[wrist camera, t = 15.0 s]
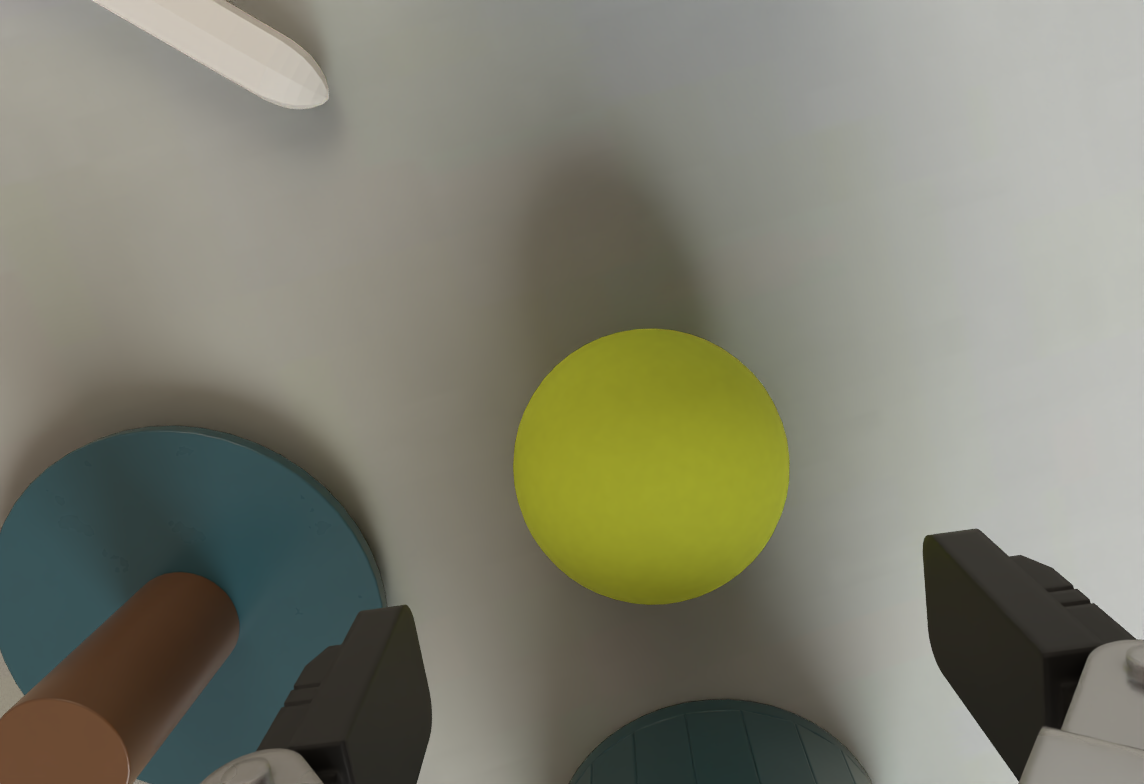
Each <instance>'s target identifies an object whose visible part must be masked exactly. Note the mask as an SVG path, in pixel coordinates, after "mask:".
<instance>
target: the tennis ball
mask: <svg viewBox="0 0 1144 784" xmlns="http://www.w3.org/2000/svg"><path fill="white" fill-rule="evenodd" d="M513 472H514V485H515V490H516V495H517V499H518V503H519V506H520V509H521V512H522V514H523V517H524V520H525V523H526V525H527V527H528V529H529V530H530V532H531V534H532V536H533V538H534V539H535V541H536V542H537V544H538V545H539V547H540V548H541V549H542V551H543V552H544V553H545V554H546V555H547V556H548V557H549V559H550V560H551V561H552V562H553V563H554V564H555V565H556V566H557V567H558V568H559V569H560V570H561V571H563V572H564V573H565V574H566V575H567V576H568V577H570V578H571V579H573V580H574V581H576V582H577V583H579V584H580V585H582V586H583V587H585V588H587V589H589V590H592V591H594V592H596V593H598V594H600V595H603V596H606V597H609V598H612V599H615V600H620V601H624V602H629V603H635V604H646V605H656V604H670V603H677V602H682V601H686V600H689V599H693V598H697V597H699V596H702V595H704V594H706V593H709V592H711V591H713V590H715V589H717V588H719V587H720V586H722V585H724V584H726V583H727V582H729V581H730V580H731V579H733V578H734V577H736V576H737V575H738V574H740V573H741V572H742V571H743V570H744V569H745V568H746V567H747V566H748V565H750V564H751V563H752V562H753V561H754V560H755V558H756V557H757V556H758V555H759V553H760V552H761V551H762V550H763V549H764V547H765V545H766V544H767V542H768V541H769V539H770V537H771V536H772V534H773V532H774V530H775V528H776V525H777V523H778V521H779V519H780V517H781V514H782V511H783V508H784V504H785V501H786V498H787V491H788V485H789V451H788V443H787V438H786V434H785V431H784V427H783V423H782V421H781V419H780V416H779V414H778V412H777V409H776V407H775V405H774V403H773V401H772V399H771V398H770V396H769V394H768V393H767V391H766V389H765V388H764V386H763V385H762V384H761V383H760V381H759V380H758V379H757V378H756V377H755V375H754V374H753V373H752V372H751V371H750V370H749V369H748V368H747V367H746V366H744V365H743V364H742V363H741V362H740V361H739V360H738V359H737V358H735V357H734V356H732V355H731V354H729V353H728V352H727V351H725V350H724V349H722V348H721V347H719V346H717V345H715V344H713V343H711V342H709V341H707V340H705V339H702V338H699V337H697V336H694V335H691V334H688V333H683V332H679V331H674V330H666V329H634V330H629V331H623V332H618V333H614V334H611V335H608V336H605V337H601V338H599V339H597V340H595V341H592V342H590V343H588V344H586V345H584V346H582V347H581V348H579V349H578V350H576V351H574V352H573V353H571V354H570V355H568V356H567V357H566V358H565V359H564V360H562V361H561V362H560V363H559V364H558V365H556V366H555V367H554V369H553V370H552V371H551V372H550V373H549V374H548V375H547V376H546V377H545V378H544V380H543V381H542V382H541V384H540V385H539V387H538V388H537V389H536V391H535V392H534V394H533V396H532V398H531V400H530V401H529V403H528V405H527V407H526V409H525V411H524V414H523V416H522V419H521V422H520V425H519V427H518V432H517V437H516V441H515V449H514V463H513Z"/></svg>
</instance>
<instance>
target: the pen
mask: <svg viewBox="0 0 1144 784" xmlns="http://www.w3.org/2000/svg"><path fill="white" fill-rule="evenodd" d="M92 1H93V2H95V3H97V4H99V5H100V6H102V7H104V8H106V9H107V10H109V11H111V12H112V13H114V14H116V15H118V16H119V17H121V18H123V19H125V20H126V21H128V22H130V23H132V24H133V25H135V26H137V27H138V28H140V29H142V30H144V31H145V32H147V33H149V34H151V35H152V36H154V37H156V38H158V39H159V40H161V41H163V42H164V43H166V44H168V45H170V46H171V47H173V48H175V49H177V50H178V51H180V52H182V53H184V54H185V55H187V56H189V57H190V58H192V59H194V60H196V61H197V62H199V63H201V64H203V65H204V66H206V67H208V68H210V69H211V70H213V71H215V72H217V73H218V74H220V75H222V76H223V77H225V78H227V79H229V80H230V81H232V82H234V83H236V84H237V85H239V86H241V87H243V88H245V89H246V90H248V91H250V92H252V93H253V94H255V95H257V96H259V97H260V98H262V99H264V100H266V101H269V102H271V103H273V104H276V105H279V106H282V107H285V108H291V109H308V108H313V107H316V106H319V105H322V104H324V103H325V102H326V101H327V100H328V99H329V88H328V85H327V81H326V78H325V76H324V74H323V72H322V70H321V69H320V67H319V65H318V64H317V62H316V61H315V60H314V59H313V57H312V56H311V55H310V54H309V53H308V52H307V51H306V50H304V49H303V48H302V47H301V46H300V45H298V44H297V43H296V42H294V41H293V40H292V39H290V38H288V37H287V36H285V35H283V34H282V33H280V32H278V31H277V30H275V29H273V28H271V27H270V26H268V25H266V24H265V23H263V22H261V21H259V20H258V19H256V18H254V17H253V16H251V15H249V14H247V13H246V12H244V11H242V10H241V9H239V8H237V7H236V6H234V5H232V4H230V3H229V2H227V1H225V0H92Z"/></svg>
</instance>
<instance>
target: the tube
mask: <svg viewBox="0 0 1144 784" xmlns="http://www.w3.org/2000/svg"><path fill="white" fill-rule="evenodd" d="M569 784H872V783H871V780H870V779H869V777H868V775H867V774H866V772H865V771H864V769H863V768H862V766H861V765H860V763H859V762H858V761H857V760H856V758H855V757H854V756H853V755H852V754H851V753H850V752H849V750H848V749H847V748H846V747H845V746H843V745H842V744H841V743H840V742H839V741H838V740H837V739H835V738H834V737H833V736H832V735H831V734H829V733H828V732H826V731H825V730H823V729H822V728H820V727H819V726H817V725H815V724H814V723H812V722H810V721H808V720H806V719H804V718H802V717H800V716H798V715H796V714H794V713H791V712H788V711H785V710H782V709H779V708H777V707H774V706H770V705H765V704H760V703H755V702H751V701H740V700H729V699H726V700H702V701H695V702H688V703H682V704H678V705H675V706H671V707H667V708H663V709H660V710H658V711H655V712H653V713H650V714H648V715H645V716H642V717H640V718H639V719H637V720H635V721H633V722H631V723H629V724H627V725H626V726H624V727H622V728H621V729H619V730H618V731H617V732H615V733H614V734H612V735H611V736H610V737H608V738H607V739H605V740H604V741H603V742H602V743H601V744H600V745H599V746H598V747H597V748H596V749H595V750H594V751H593V752H592V753H591V754H590V755H589V756H588V757H587V758H586V760H585V761H584V762H583V763H582V765H581V766H580V767H579V768H578V770H577V771H576V773H575V775H574V776H573V778H572V779H571V781H570V783H569Z"/></svg>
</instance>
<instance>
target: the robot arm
mask: <svg viewBox="0 0 1144 784" xmlns="http://www.w3.org/2000/svg"><path fill="white" fill-rule="evenodd" d="M923 562H924V577H925V591H926V606H927V620H928V632H929V639H930V643H931V647H932V651H933V654H934V657H935V660H936V662H937V665H938V667H939V669H940V670H941V672H942V674H943V675H944V676H945V678H946V679H947V681H948V682H949V683H950V685H951V686H952V688H953V689H954V691H955V692H956V693H957V695H958V696H959V698H960V699H961V700H962V702H963V703H964V705H965V706H966V707H967V709H968V710H969V712H970V713H971V715H972V716H973V717H974V719H975V720H976V722H977V723H978V724H979V726H980V727H981V729H982V730H983V731H984V733H985V734H986V736H987V737H988V739H989V740H990V741H991V743H992V744H993V746H994V747H995V748H996V750H997V751H998V753H999V754H1000V755H1001V757H1002V758H1003V760H1004V761H1005V763H1006V764H1007V765H1008V767H1009V768H1010V770H1011V771H1012V772H1013V774H1014V775H1015V777H1016V778H1017V780H1018V781H1019V783H1018V784H1144V640H1137V639H1136V638H1134V637H1133V636H1132V635H1131V634H1130V633H1128V632H1127V631H1126V630H1125V629H1124V628H1123V627H1121V626H1120V625H1119V624H1118V623H1117V622H1116V621H1114V620H1113V619H1112V618H1111V617H1110V616H1108V615H1107V614H1106V613H1105V612H1104V611H1103V610H1101V609H1100V608H1099V607H1098V606H1097V605H1095V604H1094V603H1092V604H1091V603H1090V599H1088V598H1087V597H1086V596H1085V595H1084V594H1083V593H1081V592H1080V591H1079V590H1078V589H1074V588H1073V585H1072V584H1071V583H1070V582H1068V581H1067V580H1066V579H1065V578H1064V577H1062V576H1061V575H1060V574H1059V573H1058V572H1057V571H1055V570H1054V569H1053V568H1051V567H1049V566H1046V565H1044V564H1041V563H1039V562H1037V561H1034V560H1032V559H1029V558H1027V557H1024V556H1022V555H1017V556H1010V557H1009V556H1008V555H1007V554H1006V553H1004V552H1003V551H1002V550H1001V549H1000V548H999V547H998V546H997V545H996V544H995V543H993V542H992V541H991V540H990V539H989V538H988V537H987V536H986V535H985V534H984V533H982V532H981V531H980V530H979V529H970V530H963V531H955V532H948V533H940V534H933V535H927V536H926V537H925V539H924V542H923ZM431 726H432V707H431V698H430V692H429V687H428V682H427V678H426V673H425V669H424V664H423V659H422V655H421V650H420V645H419V641H418V636H417V631H416V627H415V622H414V618H413V615H412V612H411V610H410V608H409V607H408V606H407V605H400V606H393V607H386V608H378V609H371V610H363V611H360V612H359V613H358V614H357V616H356V618H355V620H354V622H353V624H352V625H351V627H350V629H349V631H348V633H347V635H346V637H345V639H344V641H343V642H342V644H341V645H334V646H328V647H327V648H326V649H325V650H324V651H322V652H321V653H320V654H319V655H318V656H316V657H315V658H314V659H313V660H312V661H310V662H309V663H308V664H307V665H306V666H305V667H304V669H303V671H302V672H301V674H300V676H299V678H298V679H297V681H296V683H295V685H294V690H291V691H290V693H289V695H288V697H287V698H286V700H285V702H284V707H281V709H280V710H279V712H278V714H277V716H276V717H275V719H274V721H273V723H272V724H271V726H270V728H269V730H268V731H267V733H266V735H265V736H264V738H263V740H262V742H261V743H260V745H259V747H258V749H257V750H256V752H252V753H249V754H246V755H243V756H241V757H239V758H236V759H234V760H232V761H230V762H228V763H226V764H224V765H223V766H221V767H220V768H218V769H217V770H215V771H214V772H213V773H211V774H210V775H209V776H207V777H206V778H205V779H204V780H203V781H202V782H201V783H200V784H417V780H418V777H419V773H420V770H421V766H422V762H423V759H424V755H425V752H426V748H427V745H428V741H429V738H430V734H431Z"/></svg>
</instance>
